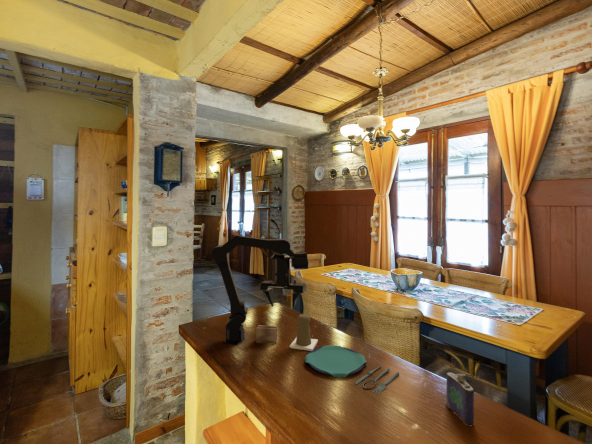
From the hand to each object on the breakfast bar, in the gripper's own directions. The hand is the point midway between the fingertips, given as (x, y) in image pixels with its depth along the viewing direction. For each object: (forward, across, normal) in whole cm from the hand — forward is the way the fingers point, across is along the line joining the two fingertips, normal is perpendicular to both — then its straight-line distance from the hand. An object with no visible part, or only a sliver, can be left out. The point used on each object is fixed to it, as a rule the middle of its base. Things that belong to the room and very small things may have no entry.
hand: (282, 307), depth 127 cm
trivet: (+13, -10, +3) cm, 17 cm away
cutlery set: (+14, -29, +16) cm, 36 cm away
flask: (+13, -60, +31) cm, 69 cm away
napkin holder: (+13, +5, +5) cm, 15 cm away
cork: (+12, -10, +3) cm, 16 cm away
